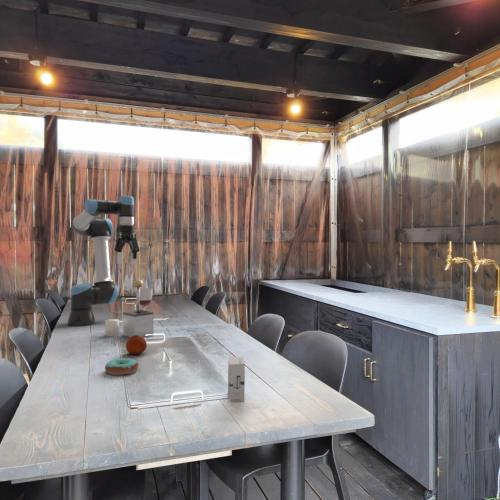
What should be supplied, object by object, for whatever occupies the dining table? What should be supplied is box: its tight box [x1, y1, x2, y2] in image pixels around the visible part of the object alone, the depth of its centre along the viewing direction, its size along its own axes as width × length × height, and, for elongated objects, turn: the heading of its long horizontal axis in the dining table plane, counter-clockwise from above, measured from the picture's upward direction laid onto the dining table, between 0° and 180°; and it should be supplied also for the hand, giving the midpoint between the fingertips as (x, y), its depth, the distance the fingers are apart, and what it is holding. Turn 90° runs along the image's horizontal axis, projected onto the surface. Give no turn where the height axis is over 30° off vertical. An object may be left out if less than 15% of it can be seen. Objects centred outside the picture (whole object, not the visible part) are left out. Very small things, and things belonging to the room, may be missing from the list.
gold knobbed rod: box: [133, 279, 144, 313], centre depth 222 cm, size 7×7×19 cm
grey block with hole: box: [122, 309, 154, 338], centre depth 222 cm, size 11×11×12 cm
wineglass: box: [135, 287, 154, 311], centre depth 241 cm, size 9×10×22 cm
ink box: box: [227, 356, 246, 403], centre depth 134 cm, size 9×5×12 cm, turn 5°
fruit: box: [125, 335, 147, 355], centre depth 185 cm, size 9×9×8 cm
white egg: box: [104, 318, 120, 338], centre depth 222 cm, size 7×7×8 cm
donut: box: [104, 357, 139, 376], centre depth 160 cm, size 12×12×4 cm
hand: (126, 264), depth 230 cm, fingers open, 13 cm apart
